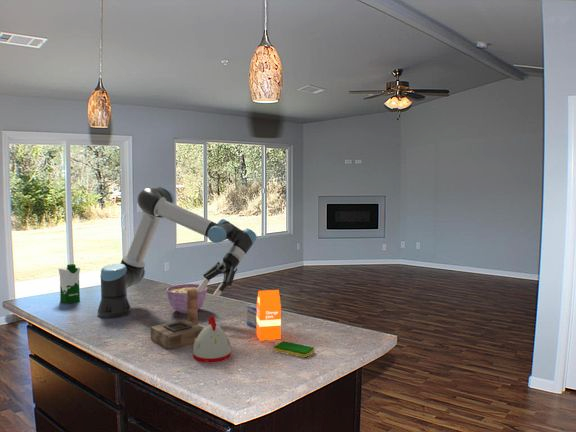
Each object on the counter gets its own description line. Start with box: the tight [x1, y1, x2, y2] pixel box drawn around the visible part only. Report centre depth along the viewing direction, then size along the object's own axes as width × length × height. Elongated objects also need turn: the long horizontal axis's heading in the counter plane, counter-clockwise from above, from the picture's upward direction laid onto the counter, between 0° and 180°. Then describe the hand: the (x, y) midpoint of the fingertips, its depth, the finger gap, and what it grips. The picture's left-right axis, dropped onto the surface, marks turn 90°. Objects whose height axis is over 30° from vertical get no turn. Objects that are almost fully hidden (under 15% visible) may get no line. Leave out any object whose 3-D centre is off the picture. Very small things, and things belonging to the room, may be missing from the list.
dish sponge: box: [273, 340, 315, 358], centre depth 182 cm, size 7×14×2 cm, turn 60°
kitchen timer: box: [192, 315, 232, 364], centre depth 176 cm, size 14×14×15 cm
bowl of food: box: [166, 283, 208, 315], centre depth 235 cm, size 20×20×12 cm
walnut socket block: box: [150, 319, 205, 350], centre depth 194 cm, size 16×16×6 cm
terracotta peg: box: [187, 290, 199, 325], centre depth 212 cm, size 4×4×16 cm
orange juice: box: [256, 289, 282, 342], centre depth 197 cm, size 8×9×20 cm
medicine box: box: [246, 304, 257, 329], centre depth 213 cm, size 8×4×9 cm, turn 47°
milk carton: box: [58, 263, 81, 305], centre depth 250 cm, size 9×9×20 cm
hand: (206, 293), depth 215 cm, fingers open, 13 cm apart
